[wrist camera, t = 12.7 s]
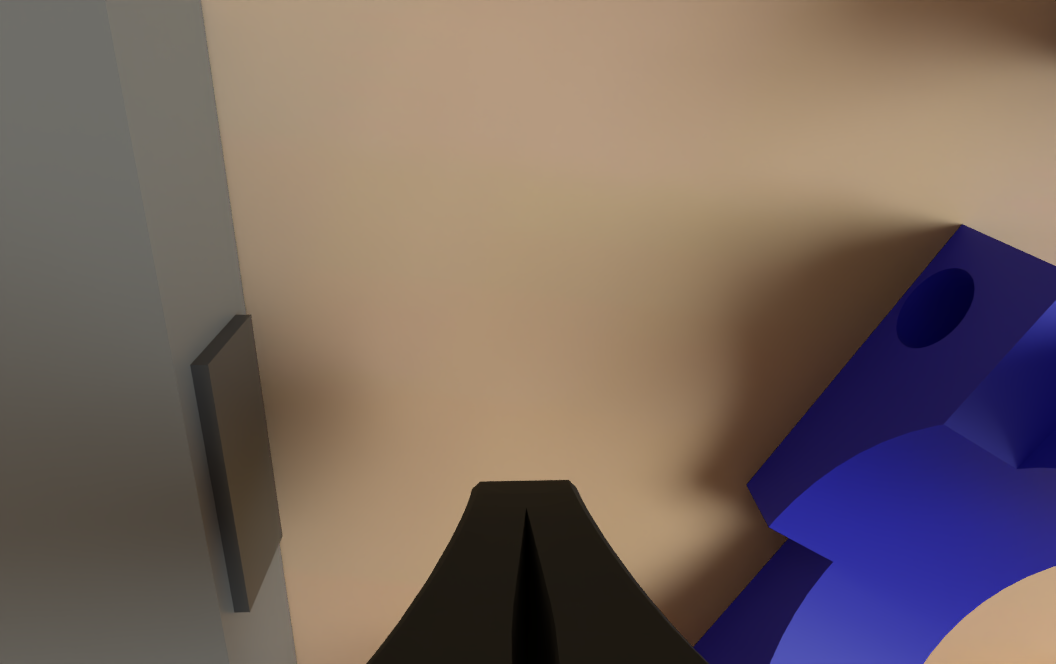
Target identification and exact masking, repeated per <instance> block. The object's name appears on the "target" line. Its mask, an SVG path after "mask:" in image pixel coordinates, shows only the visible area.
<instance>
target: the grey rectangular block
mask: <svg viewBox="0 0 1056 664" xmlns="http://www.w3.org/2000/svg"><path fill="white" fill-rule="evenodd" d="M281 538H282V530H281V523H280V516H279V509H278V502H277V495H276V488H275V481H274V474H273V467H272V460H271V453H270V446H269V439H268V432H267V425H266V418H265V411H264V404H263V397H262V390H261V383H260V376H259V369H258V362H257V355H256V348H255V341H254V334H253V327H252V320H251V315H246V309H245V302H244V296H243V289H242V282H241V275H240V268H239V261H238V254H237V247H236V241H235V234H234V227H233V220H232V213H231V206H230V199H229V192H228V185H227V179H226V172H225V165H224V158H223V151H222V144H221V137H220V130H219V123H218V117H217V110H216V103H215V96H214V89H213V82H212V75H211V68H210V62H209V55H208V48H207V41H206V34H205V27H204V20H203V13H202V6H201V0H0V664H297V660H296V654H295V647H294V640H293V633H292V626H291V619H290V612H289V605H288V598H287V592H286V585H285V578H284V571H283V564H282V557H281V550H280V541H281Z"/></svg>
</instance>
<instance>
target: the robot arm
mask: <svg viewBox="0 0 1056 664" xmlns="http://www.w3.org/2000/svg"><path fill="white" fill-rule="evenodd" d="M366 664H709V663H708V662H707V661H706V660H705V659H704V658H703V657H702V656H701V655H700V654H699V653H698V652H697V651H696V650H695V649H694V648H693V647H692V646H691V645H690V644H689V643H688V641H687V640H686V639H685V638H684V637H683V636H682V635H681V634H680V633H679V632H678V631H677V629H676V628H675V627H674V626H673V625H672V624H671V623H670V622H669V621H668V619H667V618H666V617H665V616H664V615H663V613H662V612H661V611H660V610H659V609H658V608H657V606H656V605H655V604H654V603H653V602H652V600H651V599H650V598H649V597H648V596H647V594H646V593H645V592H644V591H643V589H642V588H641V587H640V585H639V584H638V583H637V582H636V580H635V579H634V578H633V576H632V575H631V574H630V572H629V571H628V570H627V568H626V567H625V565H624V564H623V563H622V561H621V560H620V559H619V557H618V556H617V554H616V553H615V552H614V550H613V549H612V547H611V546H610V545H609V543H608V542H607V540H606V539H605V537H604V536H603V534H602V532H601V531H600V529H599V528H598V526H597V525H596V523H595V521H594V520H593V518H592V516H591V515H590V513H589V511H588V510H587V508H586V506H585V504H584V502H583V500H582V499H581V497H580V495H579V493H578V490H577V488H576V487H575V486H574V485H573V484H572V483H571V482H570V481H569V480H544V481H490V482H479V483H478V484H477V485H476V486H475V487H474V488H473V489H472V492H471V495H470V498H469V501H468V504H467V506H466V509H465V511H464V513H463V516H462V518H461V520H460V522H459V524H458V526H457V528H456V530H455V532H454V534H453V536H452V538H451V540H450V542H449V544H448V545H447V547H446V549H445V551H444V552H443V554H442V556H441V558H440V559H439V561H438V563H437V564H436V566H435V568H434V570H433V571H432V573H431V575H430V576H429V578H428V580H427V581H426V583H425V584H424V586H423V587H422V589H421V590H420V592H419V593H418V595H417V596H416V598H415V599H414V601H413V602H412V603H411V605H410V606H409V608H408V609H407V611H406V612H405V614H404V615H403V617H402V618H401V620H400V621H399V622H398V624H397V625H396V627H395V628H394V629H393V631H392V632H391V633H390V635H389V636H388V637H387V639H386V640H385V641H384V642H383V644H382V645H381V646H380V648H379V649H378V650H377V651H376V653H375V654H374V655H373V656H372V657H371V659H370V660H369V661H368V662H367V663H366Z"/></svg>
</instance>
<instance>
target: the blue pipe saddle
mask: <svg viewBox="0 0 1056 664" xmlns="http://www.w3.org/2000/svg"><path fill="white" fill-rule="evenodd" d="M747 487H748V489H749V491H750V493H751V495H752V497H753V499H754V500H755V502H756V504H757V506H758V508H759V510H760V512H761V514H762V516H763V518H764V519H765V521H766V523H767V525H768V527H769V528H771V529H773V530H775V531H777V532H778V533H780V534H782V535H784V536H786V537H788V539H787V541H786V542H785V543H784V544H783V545H782V546H781V547H780V549H779V550H778V551H777V552H776V553H775V554H774V555H773V557H772V558H771V559H770V560H769V561H768V562H767V563H766V565H765V566H764V567H763V568H762V569H761V570H760V571H759V573H758V574H757V575H756V576H755V577H754V578H753V579H752V581H751V582H750V583H749V584H748V585H747V586H746V587H745V589H744V590H743V591H742V592H741V593H740V594H739V595H738V597H737V598H736V599H735V600H734V601H733V602H732V603H731V605H730V606H729V607H728V608H727V609H726V610H725V611H724V613H723V614H722V615H721V616H720V617H719V618H718V619H717V621H716V622H715V623H714V624H713V625H712V626H711V627H710V629H709V630H708V631H707V632H706V633H705V634H704V635H703V637H702V638H701V639H700V640H699V641H698V642H697V643H696V645H695V646H694V647H693V648H694V649H695V650H696V651H697V652H698V653H699V654H700V655H701V656H702V657H703V658H704V659H705V660H706V661H707V662H708V663H709V664H924V662H925V661H926V659H927V658H928V656H929V655H930V654H931V652H932V651H933V650H934V649H935V647H936V646H937V645H938V644H939V643H940V641H941V640H942V639H943V638H944V637H945V635H946V634H948V633H949V632H950V631H951V630H952V629H953V628H954V627H955V626H956V625H957V624H958V623H959V622H960V621H961V620H962V619H963V618H964V617H965V616H966V615H968V614H969V613H970V612H971V611H973V610H974V609H975V608H976V607H978V606H979V605H980V604H981V603H983V602H984V601H986V600H987V599H989V598H990V597H992V596H993V595H995V594H996V593H998V592H999V591H1001V590H1003V589H1004V588H1006V587H1008V586H1010V585H1012V584H1014V583H1016V582H1018V581H1020V580H1022V579H1024V578H1026V577H1028V576H1030V575H1033V574H1035V573H1038V572H1040V571H1043V570H1046V569H1048V568H1051V567H1053V566H1056V266H1054V265H1052V264H1050V263H1047V262H1045V261H1043V260H1041V259H1039V258H1036V257H1034V256H1032V255H1030V254H1027V253H1025V252H1023V251H1021V250H1019V249H1016V248H1014V247H1012V246H1010V245H1007V244H1005V243H1003V242H1001V241H998V240H996V239H994V238H992V237H990V236H987V235H985V234H983V233H981V232H978V231H976V230H974V229H972V228H969V227H967V226H965V225H963V224H962V225H961V226H960V227H959V229H958V230H957V231H956V232H955V233H954V235H953V236H952V237H951V238H950V239H949V241H948V242H947V243H946V244H945V245H944V247H943V248H942V249H941V250H940V252H939V253H938V254H937V255H936V256H935V258H934V259H933V260H932V261H931V262H930V264H929V265H928V266H927V267H926V268H925V270H924V271H923V272H922V273H921V274H920V276H919V277H918V278H917V279H916V281H915V282H914V283H913V284H912V285H911V287H910V288H909V289H908V290H907V291H906V293H905V294H904V295H903V296H902V297H901V299H900V300H899V301H898V302H897V303H896V305H895V306H894V307H893V308H892V310H891V311H890V312H889V313H888V314H887V316H886V317H885V318H884V319H883V320H882V322H881V323H880V324H879V325H878V326H877V328H876V329H875V330H874V331H873V332H872V334H871V335H870V336H869V337H868V339H867V340H866V341H865V342H864V343H863V345H862V346H861V347H860V348H859V349H858V351H857V352H856V353H855V354H854V355H853V357H852V358H851V359H850V360H849V361H848V363H847V364H846V365H845V366H844V368H843V369H842V370H841V371H840V372H839V374H838V375H837V376H836V377H835V378H834V380H833V381H832V382H831V383H830V384H829V386H828V387H827V388H826V389H825V390H824V392H823V393H822V394H821V395H820V397H819V398H818V399H817V400H816V401H815V403H814V404H813V405H812V406H811V407H810V409H809V410H808V411H807V412H806V413H805V415H804V416H803V417H802V418H801V419H800V421H799V422H798V423H797V424H796V426H795V427H794V428H793V429H792V430H791V432H790V433H789V434H788V435H787V436H786V438H785V439H784V440H783V441H782V442H781V444H780V445H779V446H778V447H777V448H776V450H775V451H774V452H773V453H772V455H771V456H770V457H769V458H768V459H767V461H766V462H765V463H764V464H763V465H762V467H761V468H760V469H759V470H758V471H757V473H756V474H755V475H754V476H753V477H752V479H751V480H750V481H749V482H748V483H747Z"/></svg>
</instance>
